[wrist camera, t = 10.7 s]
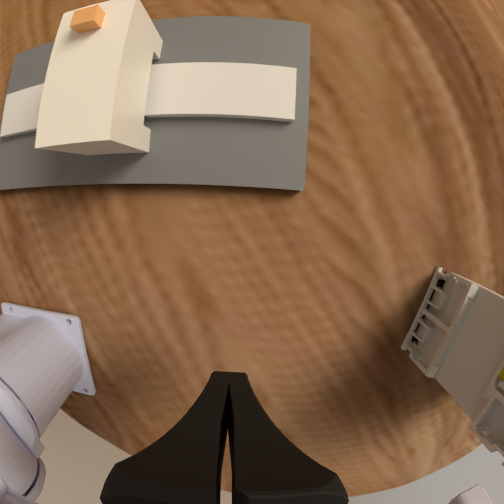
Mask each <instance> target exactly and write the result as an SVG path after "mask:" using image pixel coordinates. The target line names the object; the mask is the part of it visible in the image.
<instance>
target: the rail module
mask: <svg viewBox="0 0 504 504" xmlns="http://www.w3.org/2000/svg"><path fill="white" fill-rule="evenodd" d="M162 43H163V40H162V39H161V37H160V35H159V33H158V31H157V30H156V28H155V26H154V24H153V23H152V21H151V19H150V17H149V15H148V14H147V12H146V10H145V8H144V7H143V5H142V3H141V1H140V0H111V1H106V2H102V3H98V4H94V5H90V6H87V7H83V8H79V9H76V10H73V11H70V12H66V13H64V14H63V17H62V20H61V23H60V26H59V29H58V32H57V36H56V39H55V42H54V46H53V49H52V53H51V57H50V60H49V65H48V69H47V73H46V77H45V82H44V87H43V92H42V98H41V103H40V110H39V116H38V124H37V132H36V141H35V148H37V149H45V150H53V151H60V152H68V153H75V154H82V155H101V154H120V153H149V144H150V132H151V129H149V128H147V127H146V126H144V115H145V107H146V98H147V91H148V84H149V77H150V70H151V64H152V60H159V59H160V54H161V49H162Z"/></svg>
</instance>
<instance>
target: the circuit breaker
mask: <svg viewBox="0 0 504 504" xmlns="http://www.w3.org/2000/svg"><path fill="white" fill-rule="evenodd" d="M442 269H443V268H441V267H439V266H437V267H436V270H435V273H434V275H433V278H432V280H431V283H430V285H429V288H428V290H427V292H426V295H425V297H424V299H423V302H422V304H421V306H420V308H419V311H418V313H417V315H416V317H415V319H414V321H413V323H412V325H411V328H410V330H409V332H408V334H407V336H406V338H405V340H404V342H403V343H402V345H401V347H400V348H401V349H402V350H406V349H408V350H409V351H410V352H411V353H410V355H409V358H410V359H411V360H412V361H413V362H414V363H415V364H416V365H417V366H418V368H419V369H420V370H421V371H422V372H423V373H424V374H425V375H426V376H427V377H430V378H435V379H436V380H437V381H438V382H439V383H440V384H441V385H442V387H443V388H444V389H445V390H446V391H447V392H448V393H449V394H450V395H451V397H452V398H453V399H454V400H455V401H456V402H457V403H458V405H459V406H460V407H461V408H462V409H463V410H464V411H465V413H466V414H467V415H468V416H469V417H470V418H471V420H472V421H473V423H472V424H471V426H470V428H471V429H472V431H473V432H474V433H475V434H476V435H477V437H478V438H479V439H480V440H481V442H482V443H483V444H484V445H485V447H486V448H487V449H488V450H489V451H490V452H495V451H499V452H500V453H501V455H502V456H503V457H504V297H503V296H501V295H500V294H498V293H496V292H494V291H492V290H490V289H488V288H486V287H484V286H482V285H479V284H477V283H475V282H473V281H471V280H468V279H466V278H464V277H462V276H459V275H457V274H455V273H453V272H450V271H448V270H447V272H446V274H443V273H441V272H442ZM438 279H443V280H445V283H444V285H443V288H440V287H438V286H436V284H437V281H438ZM433 290H435V292H434V294H433V296H432V299H431V301H430V300H429V299H430V297H431V294H432V292H433ZM428 303H429V304H430V306H429V309H427V305H428ZM423 314H424V315H425V317H424V319H422V316H423ZM419 322H420V325H419V327H418V329H417V331H416V332H414V331H415V329H416V327H417V325H418V323H419ZM413 336H414V337H415V338H416V339H418V342H416V341H413V340H411V339H412V337H413ZM419 360H420V361H419ZM482 431H486V433H487V434H488V435H487V436H485V434H484V433H483V432H482ZM502 465H503V466H504V462H503V463H502Z"/></svg>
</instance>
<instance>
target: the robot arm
mask: <svg viewBox="0 0 504 504" xmlns="http://www.w3.org/2000/svg"><path fill="white" fill-rule="evenodd" d="M1 308H2V312H3V314H1V315H0V504H38V503H36V502H34V501H35V500H36V499H37V498H38V496H39V495H40V493H41V491H42V489H43V485H44V481H45V475H46V471H45V465H44V464H43V461H42V460H41V459H40V458H39V456H40V455H41V453H42V452H43V450H44V448H45V447H44V446H43V445H42V443H41V441H40V440H39V438H40V437H41V436H42V434H43V432H44V431H45V429H46V428H47V426H48V425H49V423H50V422H51V420H52V419H53V417H54V416H55V415H56V413H57V412H58V410H59V409H60V407H61V406H62V404H63V403H64V402H65V400H66V399H67V397H68V396H69V394H70V393H71V392H72V391H75V392H79V393H83V394H87V395H91V396H93V395H95V393H96V389H95V385H94V381H93V377H92V373H91V369H90V365H89V361H88V356H87V352H86V347H85V342H84V337H83V331H82V326H81V321H80V319H79V318H78V317H77V316H75V315H69V314H63V313H57V312H52V311H46V310H41V309H36V308H31V307H26V306H21V305H17V304H12V303H7V302H4V303H2V305H1ZM12 309H13V310H12ZM69 320H71V322H72V323H71V322H69ZM227 430H228V436H229V447H230V457H231V468H232V504H348V502H349V500H348V495H347V492H346V490H345V488H344V486H343V484H342V482H341V480H340V478H339V477H338V475H337V474H336V473H335V472H333V471H331V470H329V469H327V468H326V467H324V466H322V465H320V464H319V463H317V462H315V461H314V460H313V459H311V458H310V457H308V456H307V455H306V454H304V453H303V452H302V451H301V450H300V449H298V448H297V447H296V446H295V445H294V444H293V443H291V442H290V441H289V440H288V439H287V438H286V437H285V436H284V435H283V434H282V432H281V431H280V430H279V429H278V428H277V427H276V426H275V424H274V423H273V422H272V421H271V419H270V418H269V416H268V415H267V414H266V412H265V411H264V409H263V408H262V406H261V404H260V403H259V401H258V399H257V397H256V396H255V394H254V392H253V390H252V387H251V385H250V383H249V380H248V377H247V374H245V373H240V372H219V371H214V372H213V373H212V374H211V377H210V379H209V381H208V383H207V385H206V386H205V388H204V390H203V391H202V393H201V394H200V396H199V397H198V399H197V400H196V402H195V403H194V404H193V406H192V407H191V408H190V409H189V411H188V412H187V413H186V414H185V415H184V417H183V418H182V419H181V420H180V421H179V422H178V423H177V424H176V425H175V426H174V427H173V428H172V429H170V430H169V431H168V432H167V433H166V434H165V435H163V436H162V437H161V438H160V439H158V440H157V441H156V442H154V443H153V444H151V445H150V446H148V447H146V448H145V449H143V450H142V451H140V452H139V453H137V454H135V455H133V456H131V457H129V458H127V459H125V460H123V461H121V462H119V463H116V464H115V465H114V467H113V468H112V470H111V472H110V473H109V475H108V477H107V479H106V481H105V483H104V487H103V489H102V492H101V495H100V500H101V502H102V503H103V504H220V490H221V471H222V464H223V457H224V450H225V444H226V437H227ZM449 504H493V502H492V501H491V499H490V498H489V496H488V495H487V493H486V492H485V490H484V489H483V487H482V486H481V484H478V485H476V486H474V487H472V488H470V489H468V490H466V491H464V492H462V493H460V494H459V495H457V496H456V497H455V498H454V499H452V500H451V502H450V503H449Z"/></svg>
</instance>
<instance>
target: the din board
mask: <svg viewBox="0 0 504 504" xmlns="http://www.w3.org/2000/svg"><path fill="white" fill-rule="evenodd" d="M151 21H152V23H153V24H154V26H155V28H156V30H157V31H158V33H159V35H160V37H161V39H162V40H163V43H162V49H161V54H160V59H159V60H152V64H151V70H150V77H149V84H148V91H147V98H146V107H145V115H144V126H146V127H147V128H149V129H151V132H150V144H149V153H120V154H101V155H82V154H75V153H68V152H60V151H53V150H45V149H37V148H35V141H36V132H37V124H38V116H39V110H40V103H41V98H42V92H43V87H44V82H45V77H46V73H47V69H48V65H49V60H50V57H51V53H52V49H53V46H54V42H55V41H52V42H49V43H46V44H43V45H40V46H37V47H35V48H32V49H29V50H27V51H24V52H21V53H19V54H16V55H15V59H14V62H13V66H12V70H11V74H10V78H9V82H8V87H7V92H6V96H5V102H4V107H3V113H2V120H1V127H0V190H5V189H17V188H29V187H44V186H62V185H85V184H199V185H224V186H244V187H260V188H275V189H288V190H300V191H304V187H305V172H306V156H307V138H308V116H309V87H310V24H307V23H301V22H294V21H286V20H277V19H267V18H254V17H233V16H200V17H179V18H166V19H156V20H151Z"/></svg>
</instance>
